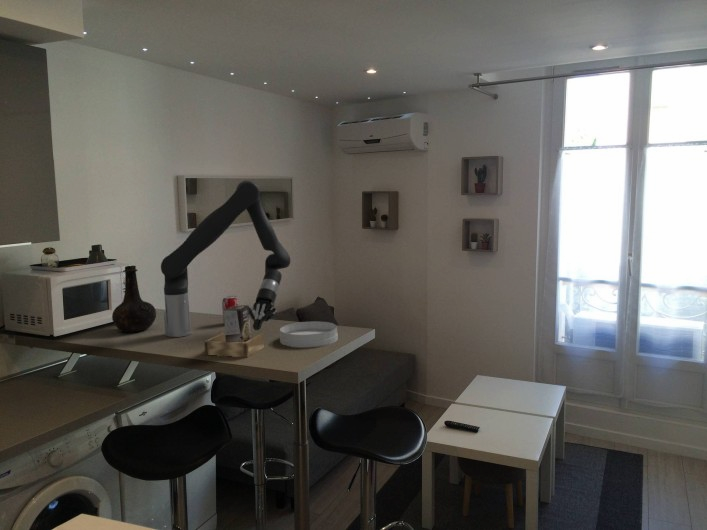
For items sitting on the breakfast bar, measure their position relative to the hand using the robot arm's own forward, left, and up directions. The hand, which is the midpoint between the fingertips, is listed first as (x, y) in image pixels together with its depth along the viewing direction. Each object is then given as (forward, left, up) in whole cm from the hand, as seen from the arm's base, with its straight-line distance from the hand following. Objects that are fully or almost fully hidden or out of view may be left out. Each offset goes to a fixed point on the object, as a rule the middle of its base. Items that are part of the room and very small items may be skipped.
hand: (256, 329), depth 216 cm
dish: (+21, +2, -4) cm, 22 cm away
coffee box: (+2, -17, -4) cm, 18 cm away
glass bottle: (-61, +7, -4) cm, 62 cm away
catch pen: (0, -17, -4) cm, 17 cm away
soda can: (-24, +24, -4) cm, 34 cm away
